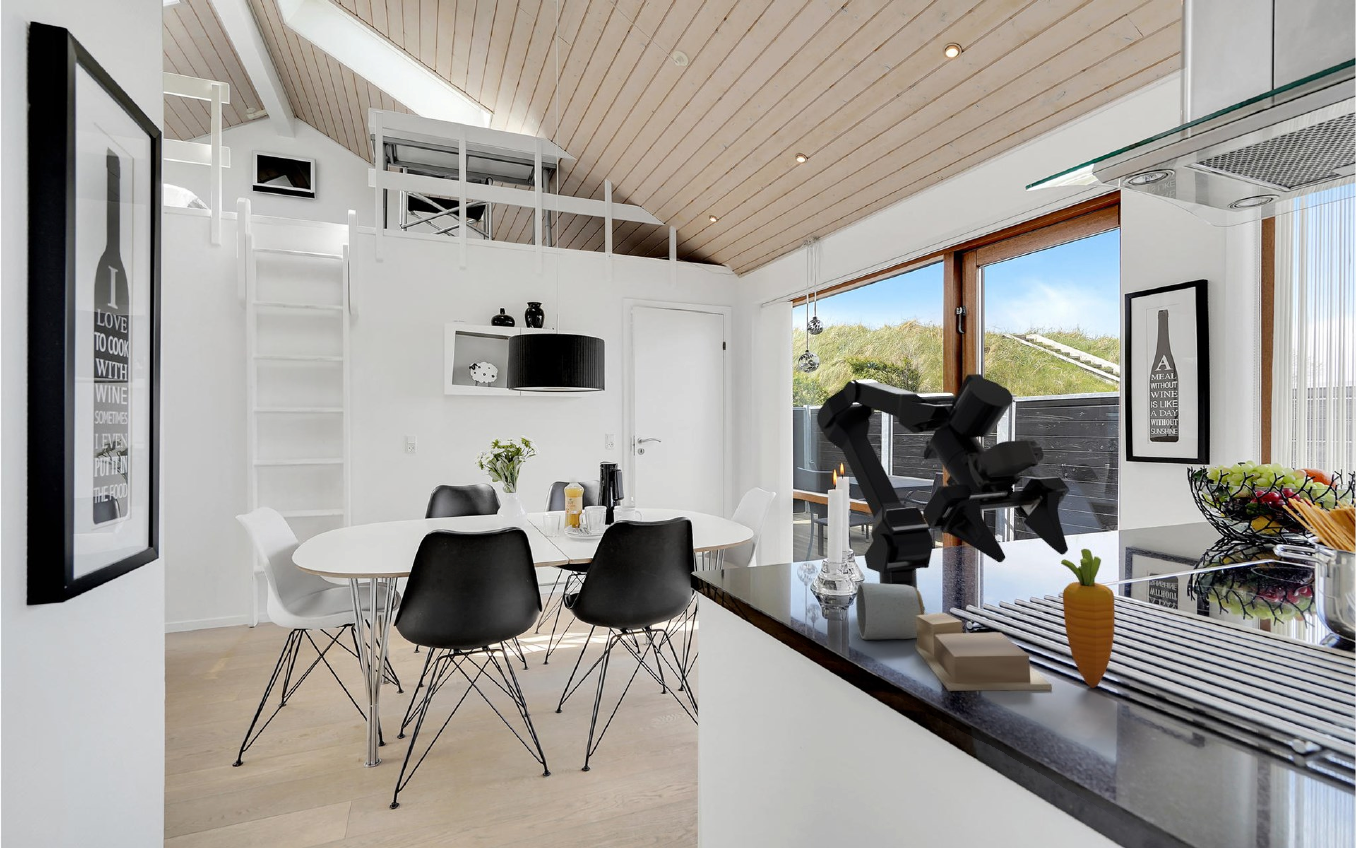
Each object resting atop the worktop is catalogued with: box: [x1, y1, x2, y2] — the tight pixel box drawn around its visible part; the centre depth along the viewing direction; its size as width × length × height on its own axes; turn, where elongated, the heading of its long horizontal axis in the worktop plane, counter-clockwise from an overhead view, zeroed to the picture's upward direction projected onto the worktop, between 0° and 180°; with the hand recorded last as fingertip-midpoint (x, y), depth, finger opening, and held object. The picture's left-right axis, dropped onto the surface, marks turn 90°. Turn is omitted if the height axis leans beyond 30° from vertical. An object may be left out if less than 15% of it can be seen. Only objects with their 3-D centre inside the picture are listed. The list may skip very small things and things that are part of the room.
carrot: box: [1060, 548, 1115, 689], centre depth 73 cm, size 5×5×15 cm
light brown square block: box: [934, 632, 1031, 683], centre depth 78 cm, size 8×8×3 cm
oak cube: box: [916, 612, 964, 656], centre depth 85 cm, size 4×4×4 cm
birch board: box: [914, 643, 1053, 692], centre depth 80 cm, size 14×11×1 cm
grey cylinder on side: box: [855, 581, 925, 641], centre depth 94 cm, size 11×8×8 cm
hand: (1034, 556), depth 80 cm, fingers open, 9 cm apart
